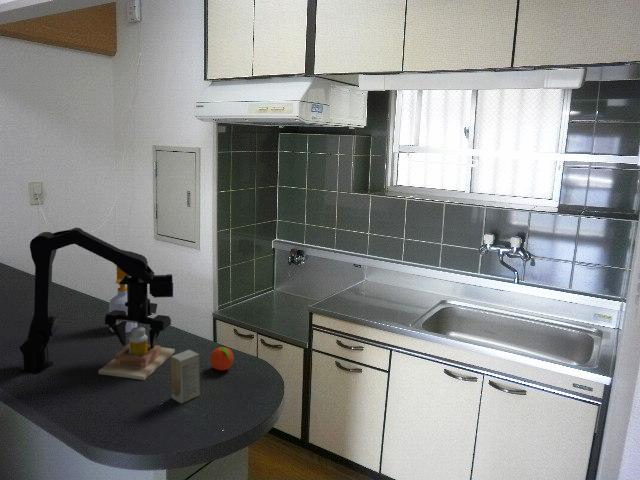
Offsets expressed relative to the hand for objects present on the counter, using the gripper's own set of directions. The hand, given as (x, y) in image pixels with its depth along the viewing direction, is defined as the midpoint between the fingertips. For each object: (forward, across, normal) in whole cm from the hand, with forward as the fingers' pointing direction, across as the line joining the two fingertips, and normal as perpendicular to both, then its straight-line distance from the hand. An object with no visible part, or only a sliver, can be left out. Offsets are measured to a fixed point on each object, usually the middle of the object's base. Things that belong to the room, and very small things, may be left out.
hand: (138, 346), depth 158 cm
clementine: (+5, -26, -2) cm, 27 cm away
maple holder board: (+5, 0, 0) cm, 5 cm away
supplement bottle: (+4, 0, 0) cm, 4 cm away
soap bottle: (+5, +18, -23) cm, 30 cm away
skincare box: (+5, -22, +16) cm, 28 cm away
